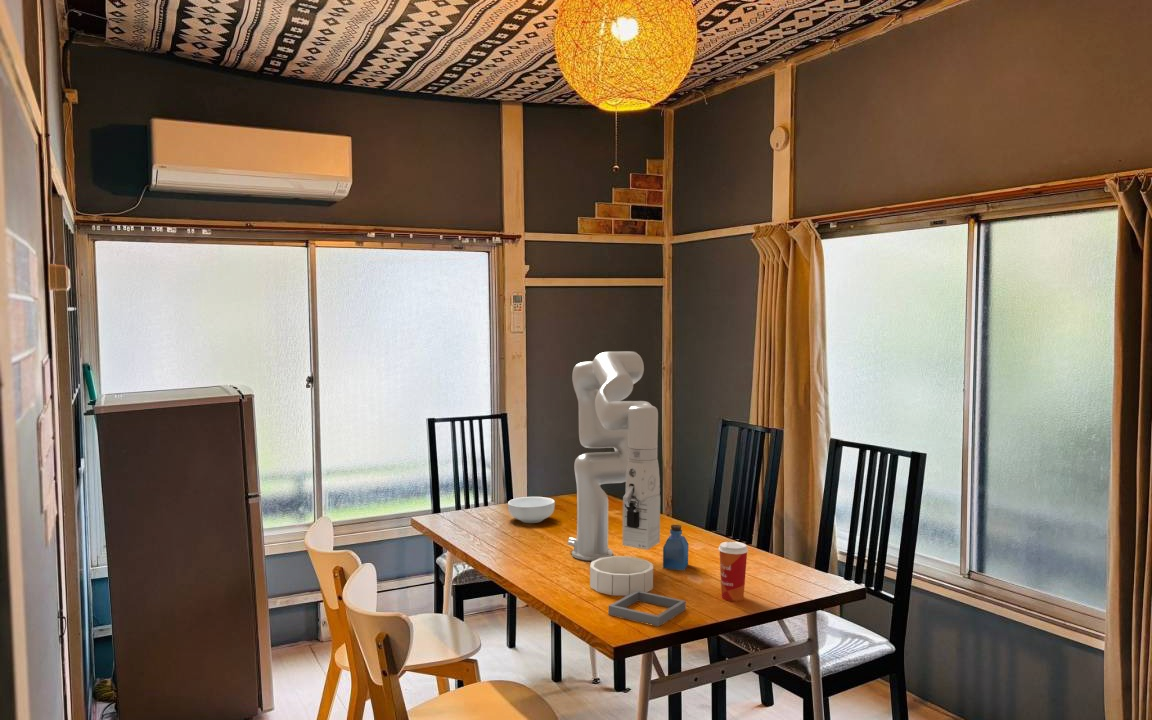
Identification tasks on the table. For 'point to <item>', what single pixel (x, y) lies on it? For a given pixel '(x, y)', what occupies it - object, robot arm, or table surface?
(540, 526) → the table surface
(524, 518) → the cereal bowl
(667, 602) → the gray square frame
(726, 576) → the paper cup
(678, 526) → the perfume bottle
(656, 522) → the supplement box
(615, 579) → the bowl
